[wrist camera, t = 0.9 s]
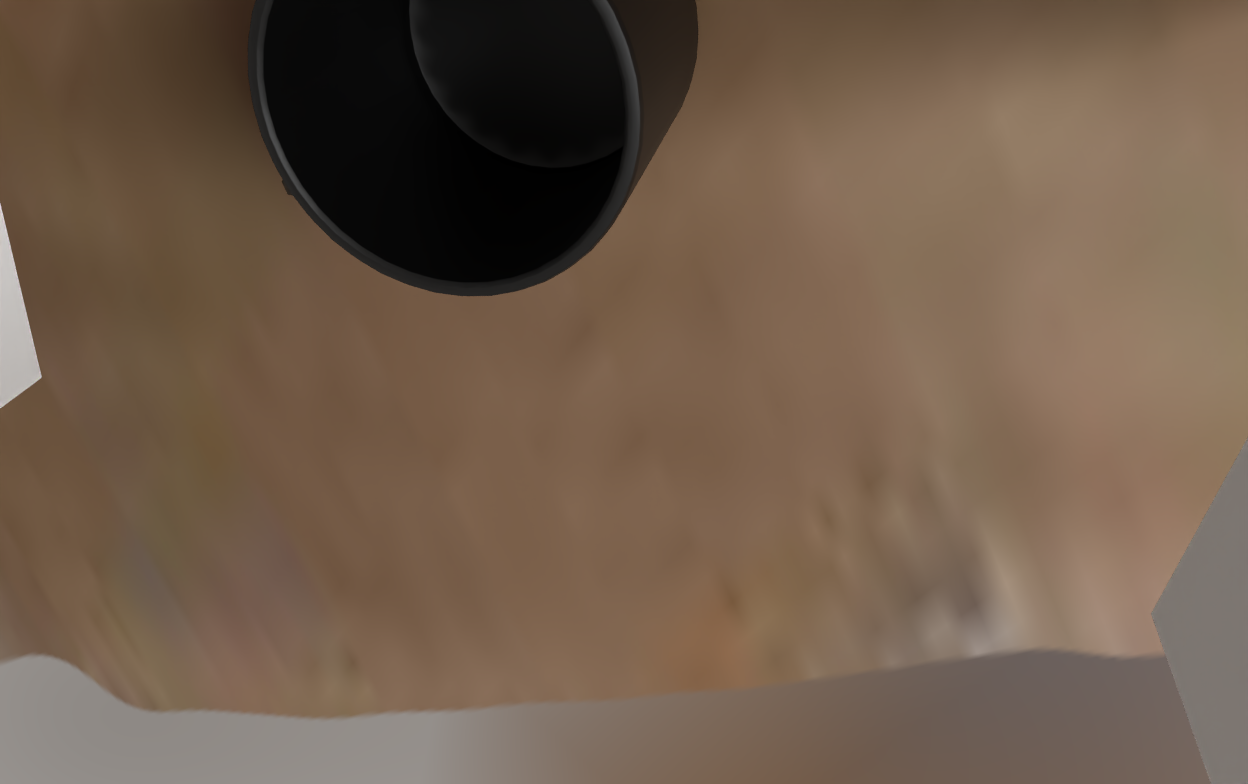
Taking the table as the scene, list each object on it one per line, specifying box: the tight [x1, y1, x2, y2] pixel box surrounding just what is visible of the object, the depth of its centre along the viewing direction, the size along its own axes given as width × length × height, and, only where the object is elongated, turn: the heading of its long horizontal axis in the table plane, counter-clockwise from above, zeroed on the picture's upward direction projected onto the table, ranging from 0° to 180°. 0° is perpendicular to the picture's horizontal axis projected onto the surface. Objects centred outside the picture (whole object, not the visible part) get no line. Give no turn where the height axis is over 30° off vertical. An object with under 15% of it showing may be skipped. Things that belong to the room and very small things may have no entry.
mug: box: [248, 0, 698, 296], centre depth 27 cm, size 9×12×9 cm
